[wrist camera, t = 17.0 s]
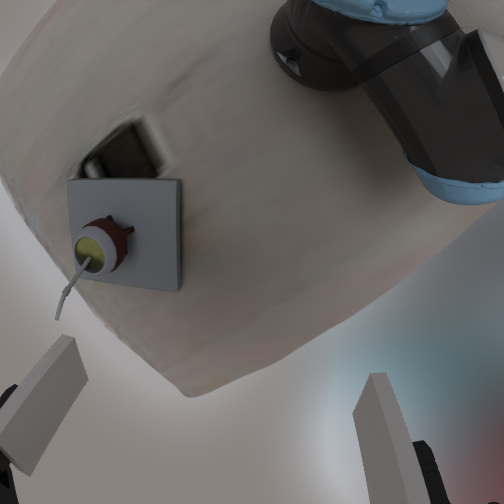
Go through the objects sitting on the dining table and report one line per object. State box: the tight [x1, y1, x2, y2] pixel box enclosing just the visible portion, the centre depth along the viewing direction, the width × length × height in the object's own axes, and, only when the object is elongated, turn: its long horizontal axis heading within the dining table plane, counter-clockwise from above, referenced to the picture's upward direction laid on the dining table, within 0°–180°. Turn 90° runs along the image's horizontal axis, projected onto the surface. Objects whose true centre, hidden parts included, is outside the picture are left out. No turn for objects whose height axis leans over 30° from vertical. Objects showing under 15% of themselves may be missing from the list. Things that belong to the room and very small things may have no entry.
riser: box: [67, 178, 181, 292], centre depth 42 cm, size 18×16×4 cm
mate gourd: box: [55, 215, 135, 320], centre depth 33 cm, size 8×8×15 cm
